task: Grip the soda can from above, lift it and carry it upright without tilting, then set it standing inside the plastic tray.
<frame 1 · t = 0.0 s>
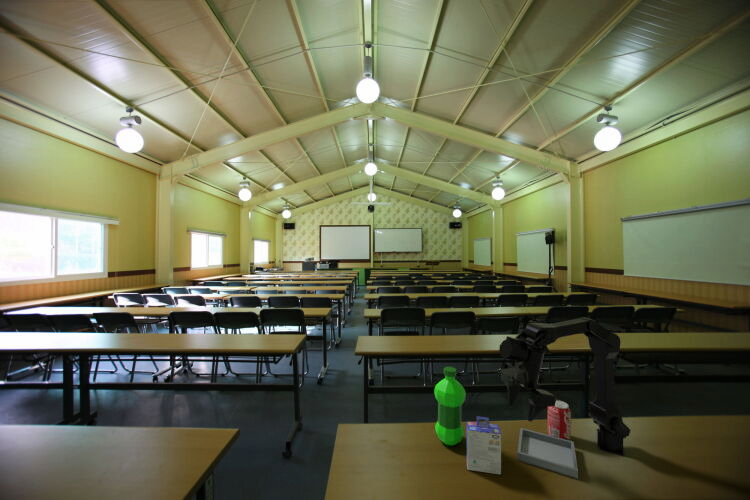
hand: (519, 412, 95), 15 cm above the table, tool pointing down, fingers open, 9 cm apart
tray: (546, 454, 98), on the table
ink cartridge box: (483, 467, 93), on the table
soda can: (558, 437, 107), on the table
plastic bottle: (449, 441, 105), on the table
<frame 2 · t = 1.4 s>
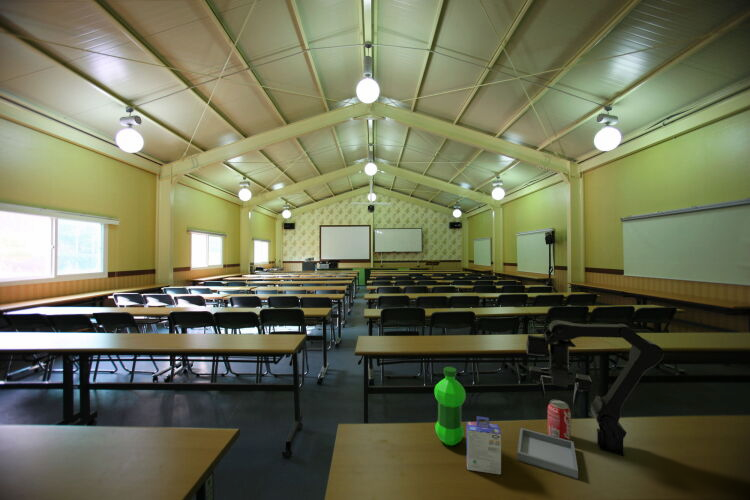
hand: (558, 401, 107), 13 cm above the table, tool pointing down, fingers open, 9 cm apart
nothing on the table moved.
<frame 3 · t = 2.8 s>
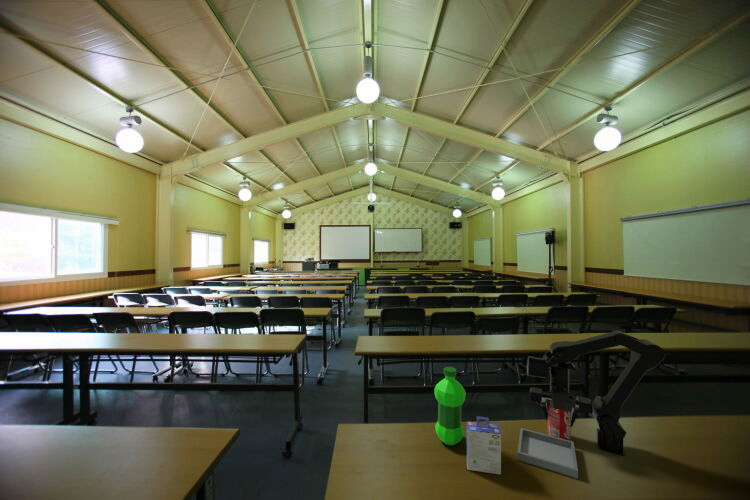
hand: (559, 423, 107), 5 cm above the table, tool pointing down, fingers closed on soda can, 7 cm apart
soda can: (558, 437, 107), on the table, touching gripper
everything else where it was.
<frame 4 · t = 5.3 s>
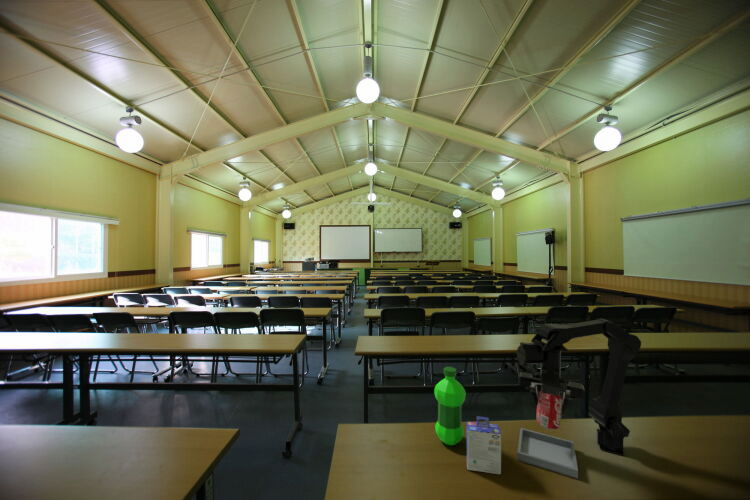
hand: (549, 409, 101), 13 cm above the table, tool pointing down, fingers closed on soda can, 7 cm apart
soda can: (547, 425, 101), point 8 cm above the table, touching gripper
everything else where it was.
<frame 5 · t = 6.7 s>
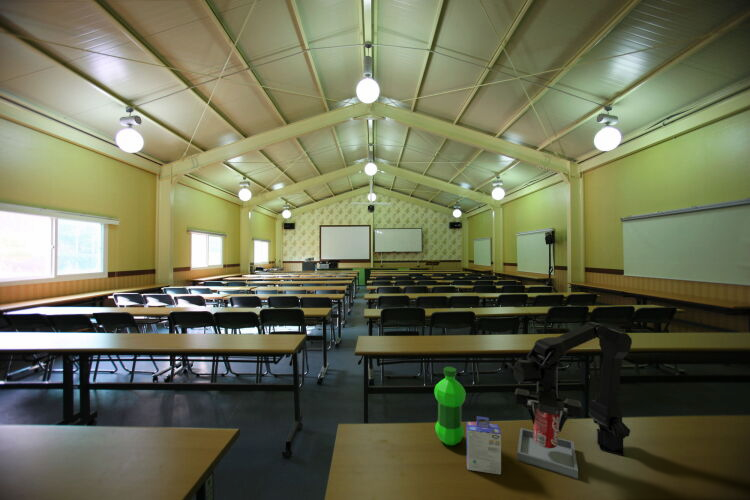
hand: (546, 427, 98), 9 cm above the table, tool pointing down, fingers closed on soda can, 7 cm apart
soda can: (544, 443, 99), point 3 cm above the table, touching gripper
everything else where it was.
when the fingers open (7 cm above the table, at t = 7.8 s): soda can stays where it is, resting on tray.
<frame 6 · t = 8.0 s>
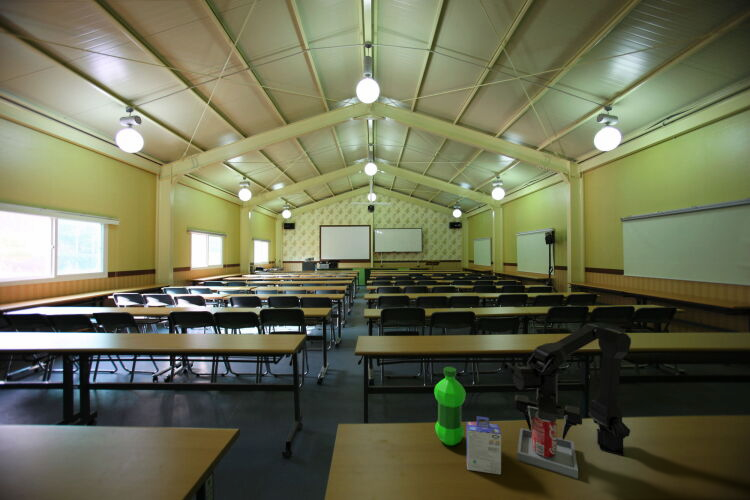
hand: (546, 434, 98), 7 cm above the table, tool pointing down, fingers open, 9 cm apart
soda can: (543, 453, 99), resting on tray
everything else where it was.
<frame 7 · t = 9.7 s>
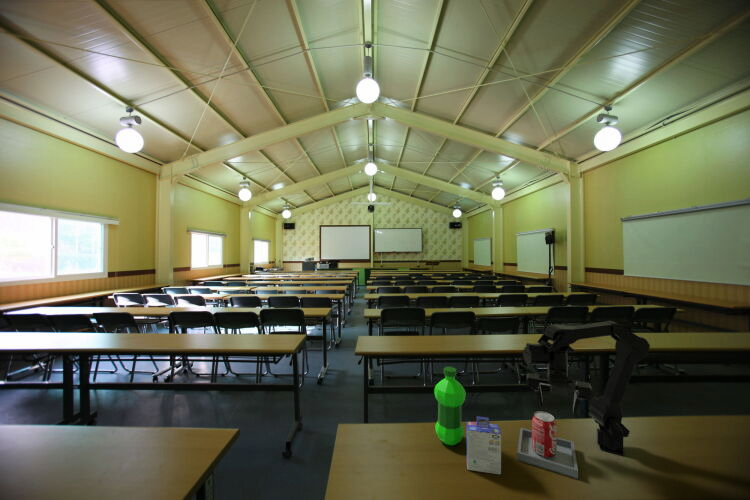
hand: (557, 409, 102), 13 cm above the table, tool pointing down, fingers open, 9 cm apart
nothing on the table moved.
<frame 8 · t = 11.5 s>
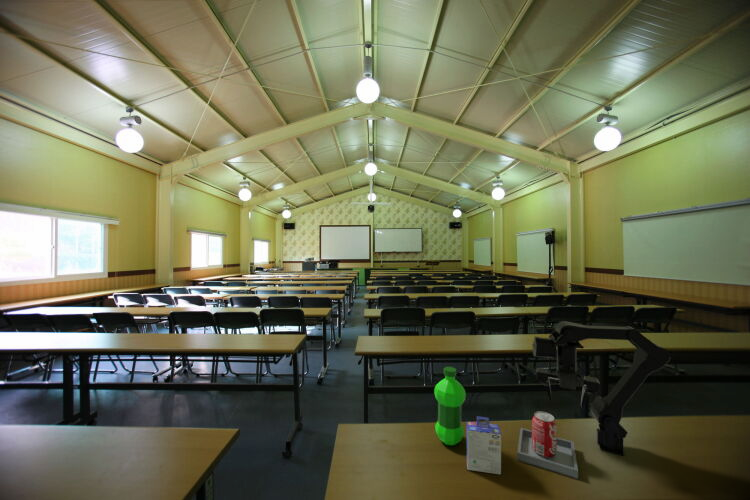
hand: (565, 403, 105), 13 cm above the table, tool pointing down, fingers open, 9 cm apart
nothing on the table moved.
at the end: soda can inside the target area on the tray (0.6 cm from its centre), point 0.2 cm above the tray's base; soda can tilted 0°; the gripper is holding nothing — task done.
